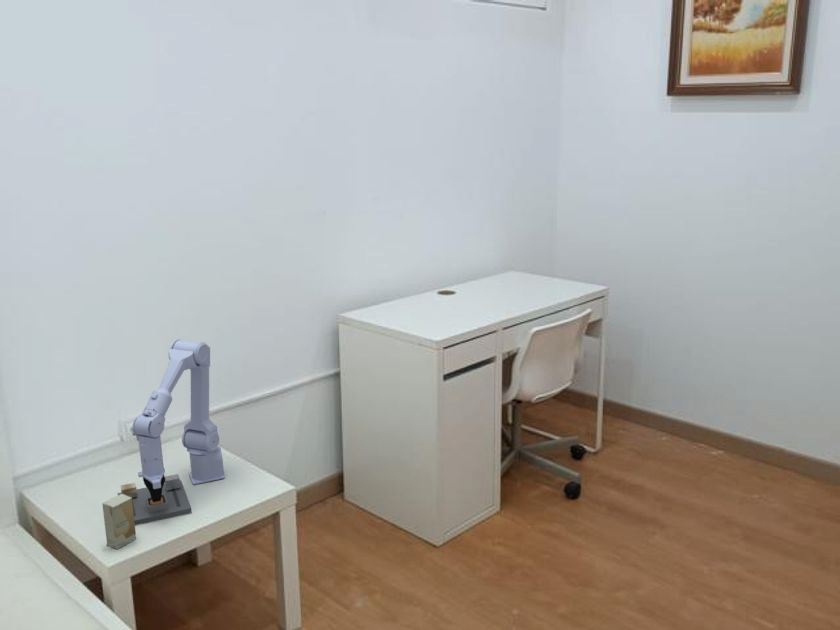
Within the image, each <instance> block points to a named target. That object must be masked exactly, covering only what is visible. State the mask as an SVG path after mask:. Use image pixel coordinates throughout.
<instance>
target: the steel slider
mask: <svg viewBox="0 0 840 630" xmlns="http://www.w3.org/2000/svg"><path fill="white" fill-rule="evenodd" d="M164 476H165V475H164ZM180 479H181V478H180V475H179V474H178V473H177V474H176V473H175V474H171V475H166V476H165V483H164V484H165V488H166V490H171V489H176V488H181V487H180Z"/></svg>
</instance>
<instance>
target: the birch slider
mask: <svg viewBox="0 0 840 630" xmlns="http://www.w3.org/2000/svg"><path fill="white" fill-rule="evenodd" d="M137 489H138V488H137V484H136V482H131V483H127V484H121V485H120V493H122V494H124V495H127V496H129V497H131V498H133V497H137Z"/></svg>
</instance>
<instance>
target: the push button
mask: <svg viewBox="0 0 840 630" xmlns="http://www.w3.org/2000/svg"><path fill="white" fill-rule="evenodd" d="M159 503H164V500H163V498H161V501H157V502H153V501H152V499H151V500H150V505H155V504H159Z"/></svg>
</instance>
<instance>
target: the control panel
mask: <svg viewBox="0 0 840 630" xmlns="http://www.w3.org/2000/svg"><path fill="white" fill-rule="evenodd" d="M180 487H181V488H176V489H171V490H166V488H165V483H164V485H163V488H162V496H161V498H163V500H164V503H159V504H155V505H150V500H151V499H152V498H151V495H150V492H149V490H148V488H147V487H146V486H145V487H142V488H136V489H137V497H133V498H132V504H133V514H134V523H135V526H139V525H143V524H148V523H152V522H156V521H160V520H166V519H170V518H175V517H179V516H183V515H189V514H191V513H193V510H192V505H191V503H190V500H189V498H188V495H187V492H186V489H185V487H184V485H183V481H182V480H180ZM120 494H122V493H121V492H117V496H118V495H120Z"/></svg>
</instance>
